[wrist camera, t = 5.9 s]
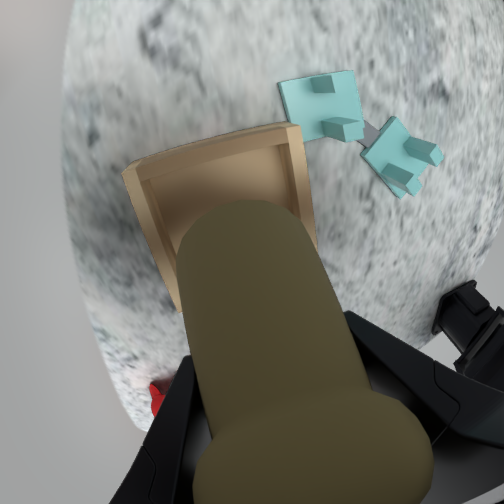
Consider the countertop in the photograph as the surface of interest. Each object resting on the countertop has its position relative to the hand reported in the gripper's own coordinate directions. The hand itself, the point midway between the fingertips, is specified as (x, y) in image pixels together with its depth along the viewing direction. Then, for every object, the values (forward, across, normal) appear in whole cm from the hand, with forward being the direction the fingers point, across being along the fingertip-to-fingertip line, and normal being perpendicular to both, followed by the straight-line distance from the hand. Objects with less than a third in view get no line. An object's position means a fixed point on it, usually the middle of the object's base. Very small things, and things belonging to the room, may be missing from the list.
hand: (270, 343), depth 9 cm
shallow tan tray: (+12, 0, 0) cm, 12 cm away
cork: (+5, 0, 0) cm, 5 cm away
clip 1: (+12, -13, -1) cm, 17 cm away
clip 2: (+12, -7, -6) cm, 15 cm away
